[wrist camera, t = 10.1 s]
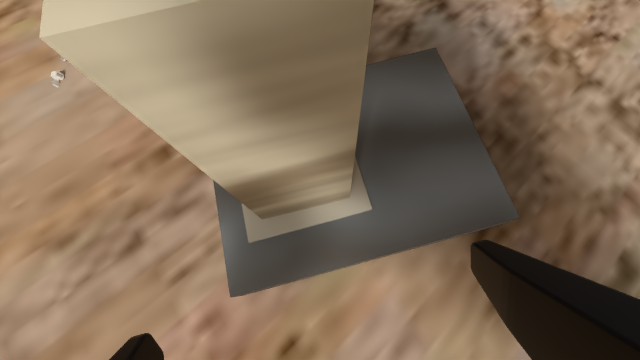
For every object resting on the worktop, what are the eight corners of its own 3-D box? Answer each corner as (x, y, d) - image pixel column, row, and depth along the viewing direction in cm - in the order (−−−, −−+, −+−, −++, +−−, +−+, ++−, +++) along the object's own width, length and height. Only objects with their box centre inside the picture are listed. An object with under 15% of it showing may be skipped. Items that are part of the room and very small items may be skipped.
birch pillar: (349, 198, 17) (379, -41, 4) (262, 219, 16) (39, 38, 4) (328, 122, 18) (305, -208, 6) (248, 141, 18) (59, -154, 6)
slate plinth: (501, 224, 18) (523, 216, 16) (242, 295, 17) (228, 297, 15) (427, 67, 22) (436, 44, 20) (214, 122, 21) (200, 104, 19)
